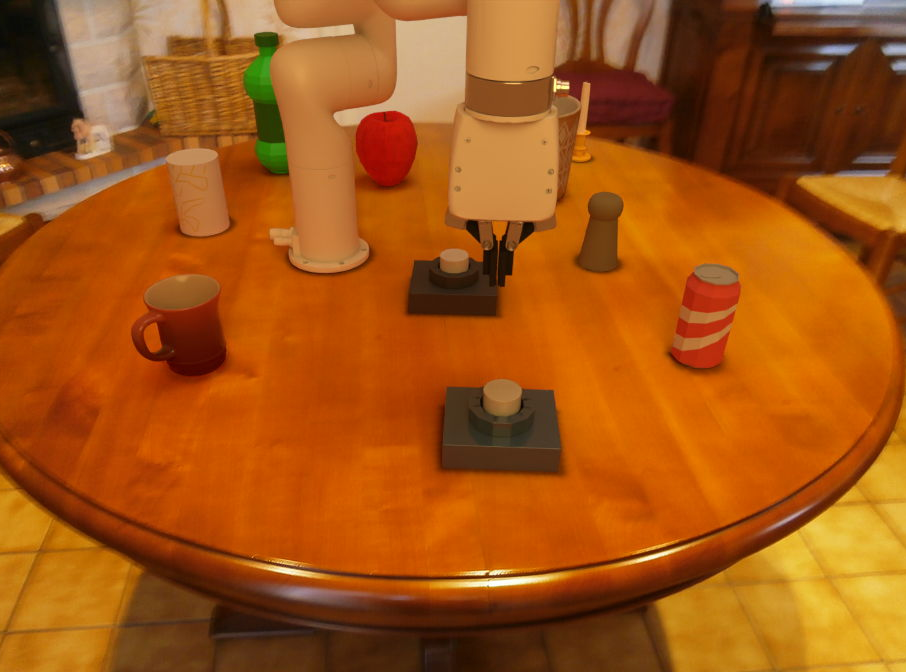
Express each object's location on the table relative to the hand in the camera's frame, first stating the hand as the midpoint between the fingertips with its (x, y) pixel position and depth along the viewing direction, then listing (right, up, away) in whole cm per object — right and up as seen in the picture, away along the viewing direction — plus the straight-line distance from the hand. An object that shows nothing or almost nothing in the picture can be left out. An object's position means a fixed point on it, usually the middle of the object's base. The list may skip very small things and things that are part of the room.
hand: (496, 280), depth 75 cm
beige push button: (+1, -13, +3) cm, 13 cm away
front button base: (+1, -17, +6) cm, 18 cm away
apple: (-15, +27, +67) cm, 74 cm away
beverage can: (+27, -8, +18) cm, 33 cm away
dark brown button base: (-4, +2, +31) cm, 31 cm away
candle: (+23, +35, +79) cm, 90 cm away
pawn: (+19, +8, +40) cm, 45 cm away
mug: (-37, -9, +16) cm, 41 cm away
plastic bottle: (-37, +32, +73) cm, 88 cm away
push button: (-4, +5, +28) cm, 29 cm away
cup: (-45, +16, +51) cm, 70 cm away
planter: (+9, +24, +63) cm, 68 cm away
